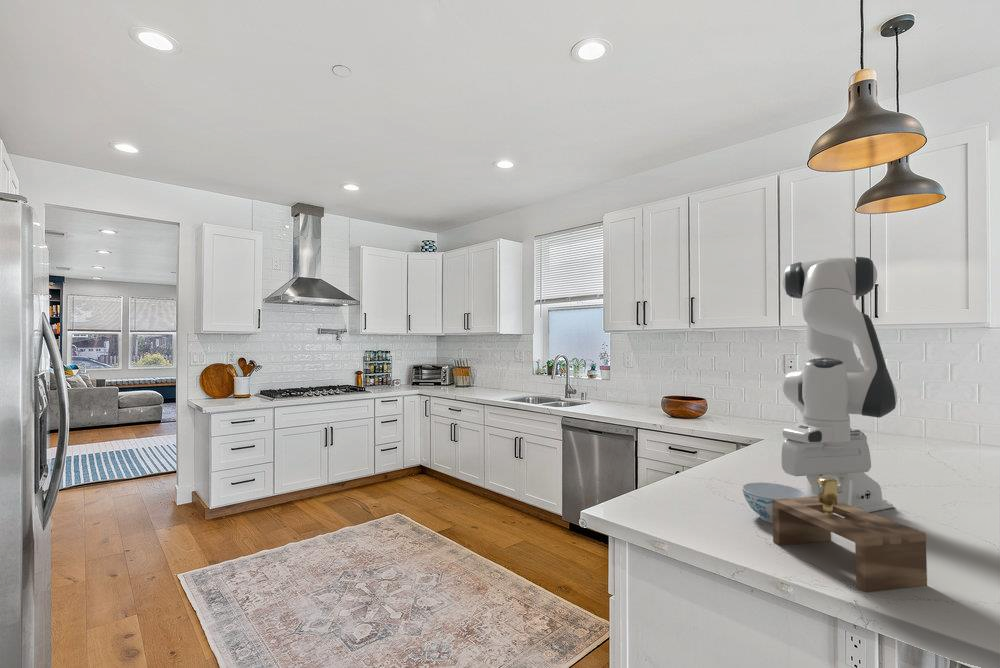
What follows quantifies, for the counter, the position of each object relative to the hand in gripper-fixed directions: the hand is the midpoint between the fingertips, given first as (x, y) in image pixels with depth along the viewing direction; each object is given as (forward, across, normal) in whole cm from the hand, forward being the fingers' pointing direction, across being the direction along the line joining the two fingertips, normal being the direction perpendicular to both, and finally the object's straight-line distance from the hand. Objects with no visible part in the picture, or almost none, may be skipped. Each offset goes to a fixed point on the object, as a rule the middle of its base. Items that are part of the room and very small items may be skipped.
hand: (827, 493), depth 109 cm
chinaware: (+14, -4, -22) cm, 26 cm away
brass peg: (+7, 0, 0) cm, 7 cm away
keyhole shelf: (+14, 0, +4) cm, 14 cm away
